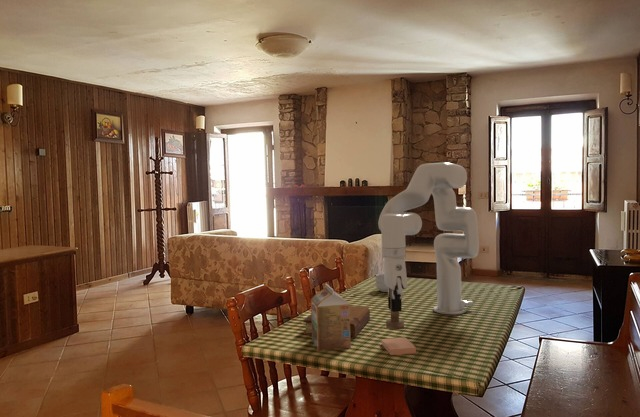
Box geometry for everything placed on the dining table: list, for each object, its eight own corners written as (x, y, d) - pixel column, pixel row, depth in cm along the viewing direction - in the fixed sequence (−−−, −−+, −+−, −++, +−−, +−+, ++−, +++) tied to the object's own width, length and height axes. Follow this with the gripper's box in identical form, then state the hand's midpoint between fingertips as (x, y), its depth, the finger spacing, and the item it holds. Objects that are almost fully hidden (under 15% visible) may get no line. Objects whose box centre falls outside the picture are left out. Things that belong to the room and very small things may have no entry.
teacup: (376, 288, 236) (375, 273, 236) (397, 288, 235) (397, 273, 234) (375, 295, 222) (375, 278, 222) (398, 295, 221) (398, 278, 221)
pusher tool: (400, 324, 153) (399, 281, 152) (406, 329, 147) (405, 285, 147) (384, 325, 152) (383, 282, 152) (389, 330, 147) (388, 286, 146)
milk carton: (350, 347, 149) (349, 288, 149) (318, 350, 147) (316, 291, 146) (342, 337, 160) (340, 282, 159) (311, 340, 158) (310, 284, 157)
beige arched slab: (355, 340, 158) (355, 323, 158) (303, 336, 164) (303, 320, 164) (370, 321, 180) (369, 306, 180) (323, 318, 186) (323, 303, 186)
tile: (405, 337, 153) (415, 347, 143) (405, 343, 153) (416, 354, 143) (381, 339, 152) (390, 349, 142) (381, 345, 152) (390, 356, 142)
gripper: (413, 255, 141) (414, 315, 142) (397, 249, 157) (398, 303, 158) (389, 256, 140) (391, 317, 141) (375, 250, 156) (376, 304, 157)
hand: (394, 309), depth 150 cm, fingers closed on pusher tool, 2 cm apart
